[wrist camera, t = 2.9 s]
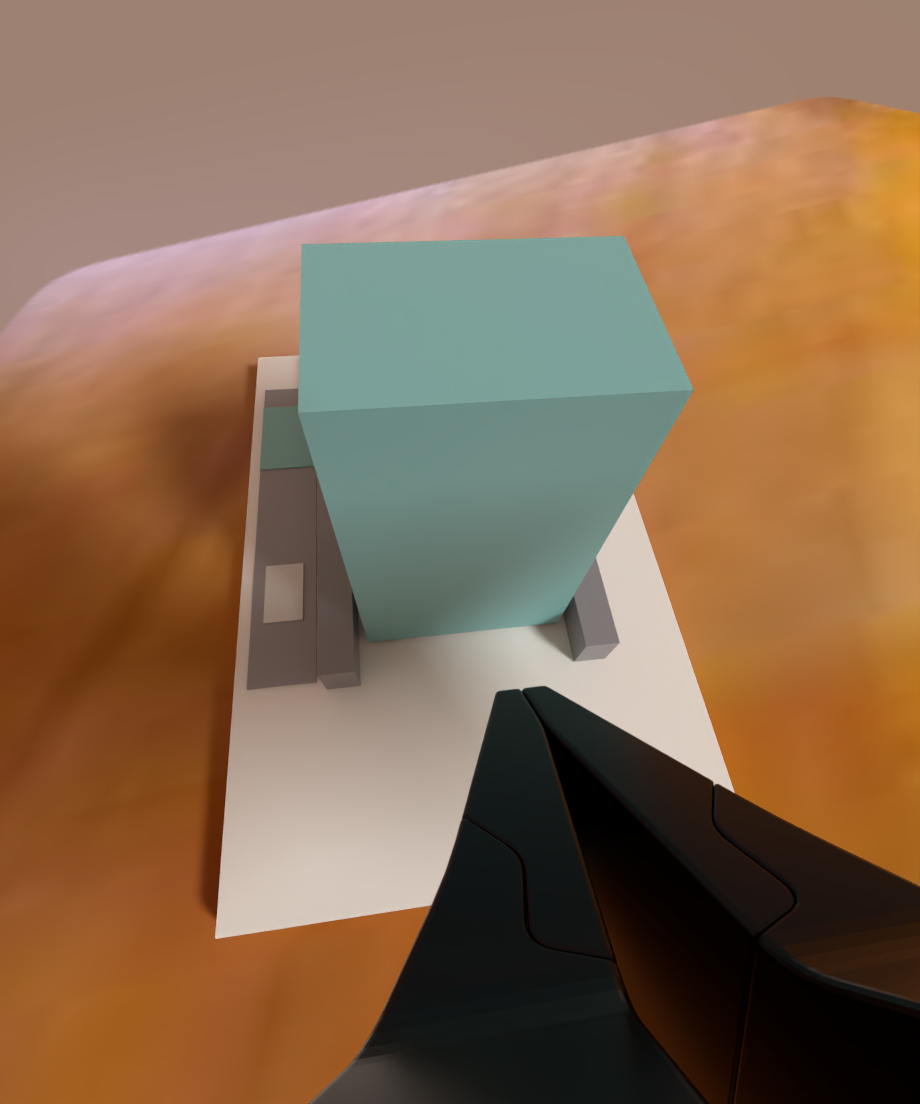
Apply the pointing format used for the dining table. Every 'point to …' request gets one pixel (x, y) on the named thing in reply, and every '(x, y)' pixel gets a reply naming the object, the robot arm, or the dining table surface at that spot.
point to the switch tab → (479, 419)
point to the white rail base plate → (401, 700)
